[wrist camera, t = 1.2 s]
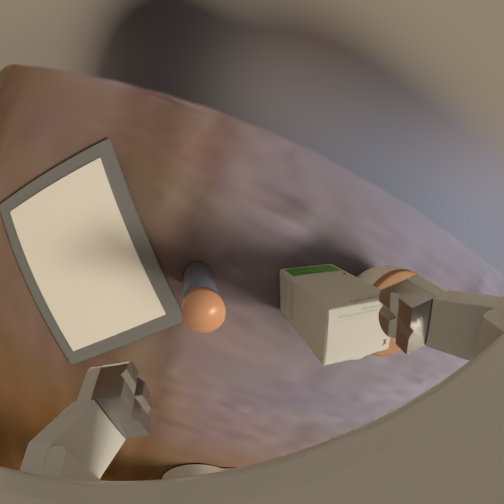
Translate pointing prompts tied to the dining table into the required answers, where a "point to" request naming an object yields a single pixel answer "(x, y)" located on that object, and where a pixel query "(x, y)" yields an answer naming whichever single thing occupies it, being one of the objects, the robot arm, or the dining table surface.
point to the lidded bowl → (381, 280)
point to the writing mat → (89, 256)
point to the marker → (201, 299)
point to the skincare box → (332, 312)
